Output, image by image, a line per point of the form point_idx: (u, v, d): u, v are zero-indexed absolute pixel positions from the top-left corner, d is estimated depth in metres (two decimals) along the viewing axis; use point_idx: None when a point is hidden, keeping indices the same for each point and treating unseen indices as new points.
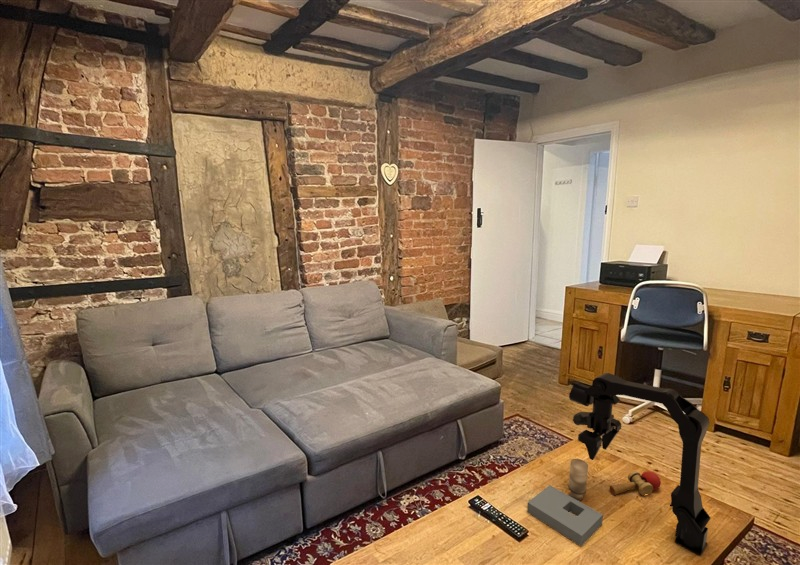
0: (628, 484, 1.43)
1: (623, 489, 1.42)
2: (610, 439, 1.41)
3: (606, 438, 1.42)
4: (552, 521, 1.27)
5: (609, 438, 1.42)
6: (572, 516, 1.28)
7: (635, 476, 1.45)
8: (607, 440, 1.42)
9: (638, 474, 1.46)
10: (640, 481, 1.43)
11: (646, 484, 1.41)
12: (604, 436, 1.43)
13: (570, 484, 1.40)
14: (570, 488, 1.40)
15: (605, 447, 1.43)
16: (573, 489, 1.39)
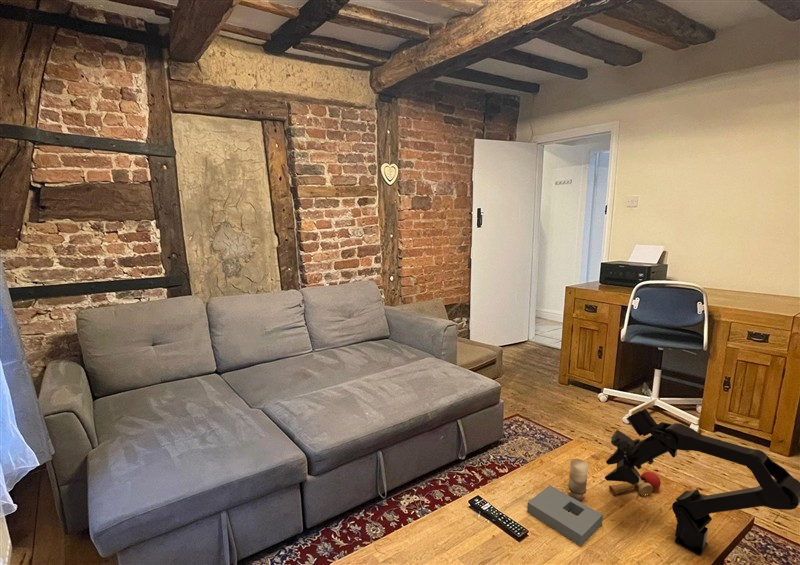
0: (628, 484, 1.43)
1: (623, 489, 1.42)
2: (621, 461, 1.37)
3: (617, 458, 1.37)
4: (552, 521, 1.27)
5: (620, 459, 1.37)
6: (572, 516, 1.28)
7: None
8: (617, 460, 1.37)
9: None
10: (640, 481, 1.43)
11: (646, 484, 1.40)
12: (617, 455, 1.37)
13: (570, 484, 1.40)
14: (570, 488, 1.40)
15: (609, 463, 1.38)
16: (573, 489, 1.39)
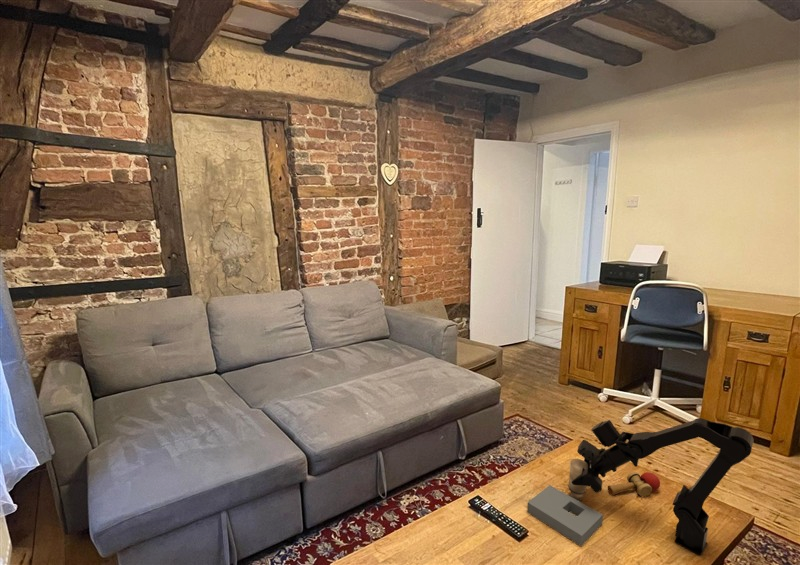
0: (626, 484, 1.43)
1: (621, 489, 1.42)
2: None
3: None
4: (552, 521, 1.27)
5: None
6: (572, 516, 1.28)
7: (634, 477, 1.45)
8: None
9: (637, 475, 1.45)
10: (639, 482, 1.43)
11: (645, 485, 1.40)
12: None
13: (570, 484, 1.40)
14: (570, 488, 1.40)
15: None
16: (573, 489, 1.39)
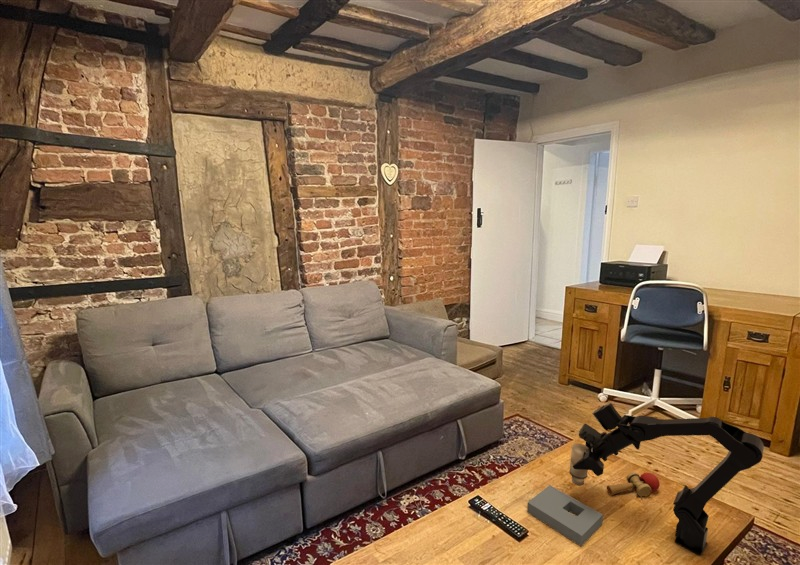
0: (626, 485, 1.42)
1: (620, 489, 1.42)
2: None
3: None
4: (552, 521, 1.27)
5: None
6: (572, 516, 1.28)
7: (633, 477, 1.45)
8: None
9: (637, 475, 1.45)
10: (638, 482, 1.43)
11: (644, 485, 1.40)
12: None
13: (571, 469, 1.38)
14: (571, 473, 1.38)
15: None
16: (574, 474, 1.37)
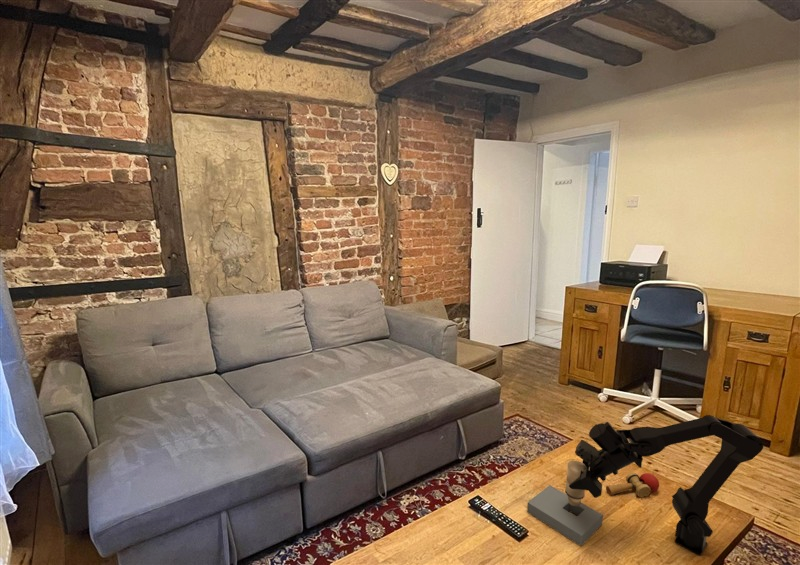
0: (625, 485, 1.42)
1: (620, 490, 1.42)
2: None
3: None
4: (552, 521, 1.27)
5: None
6: (572, 516, 1.28)
7: (633, 477, 1.44)
8: None
9: (636, 476, 1.45)
10: (638, 483, 1.43)
11: (643, 486, 1.40)
12: None
13: (567, 488, 1.29)
14: (567, 492, 1.29)
15: None
16: (570, 493, 1.28)
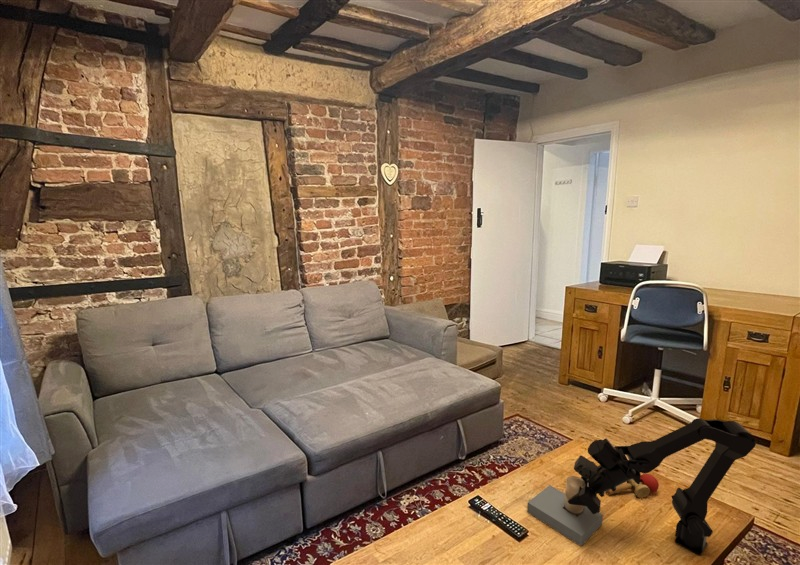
0: (624, 485, 1.42)
1: (618, 490, 1.41)
2: None
3: None
4: (552, 521, 1.27)
5: None
6: (572, 516, 1.28)
7: None
8: None
9: None
10: None
11: (642, 486, 1.40)
12: None
13: (566, 503, 1.30)
14: (566, 507, 1.30)
15: None
16: (569, 509, 1.29)
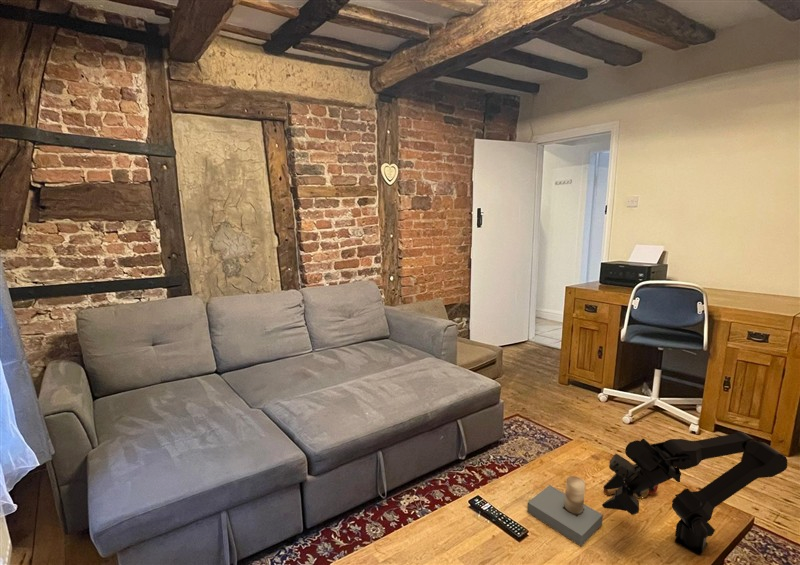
0: None
1: None
2: (620, 486, 1.28)
3: (616, 483, 1.28)
4: (552, 521, 1.27)
5: (619, 484, 1.28)
6: (572, 516, 1.28)
7: None
8: (616, 485, 1.28)
9: None
10: None
11: None
12: (616, 480, 1.28)
13: (566, 503, 1.30)
14: (566, 508, 1.30)
15: (608, 488, 1.29)
16: (569, 509, 1.29)
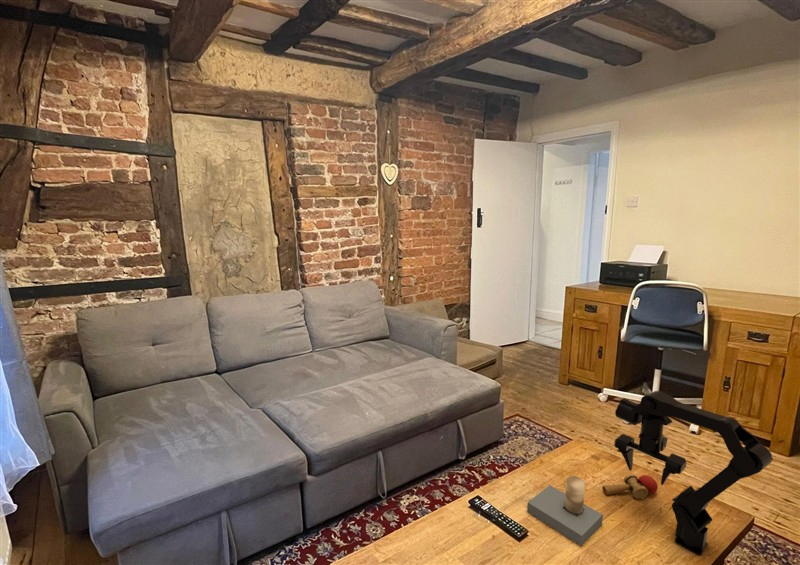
0: (622, 486, 1.42)
1: (616, 490, 1.41)
2: None
3: None
4: (552, 521, 1.27)
5: None
6: (572, 516, 1.28)
7: (631, 479, 1.44)
8: None
9: (634, 477, 1.44)
10: (635, 484, 1.42)
11: (640, 487, 1.39)
12: None
13: (566, 503, 1.30)
14: (566, 508, 1.30)
15: None
16: (569, 509, 1.29)
